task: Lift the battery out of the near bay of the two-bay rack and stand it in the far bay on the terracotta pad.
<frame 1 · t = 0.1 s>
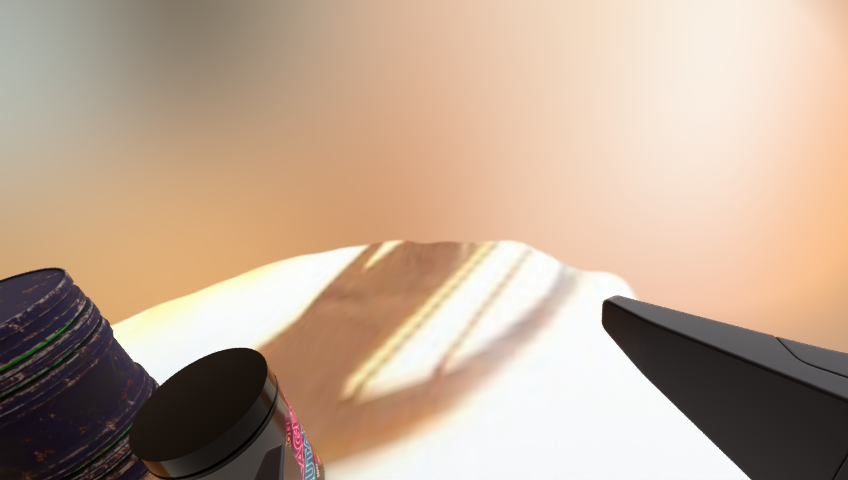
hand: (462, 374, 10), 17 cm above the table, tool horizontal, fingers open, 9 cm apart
dark purple cylinder: (115, 455, 30), on the table
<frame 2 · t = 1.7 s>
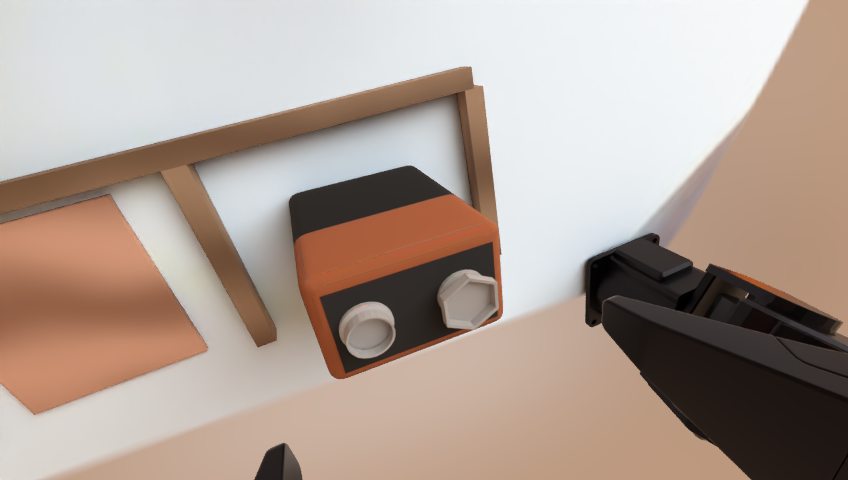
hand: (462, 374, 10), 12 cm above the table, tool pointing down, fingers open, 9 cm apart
slot rack: (228, 258, 19), on the table
battery: (361, 213, 20), on the table
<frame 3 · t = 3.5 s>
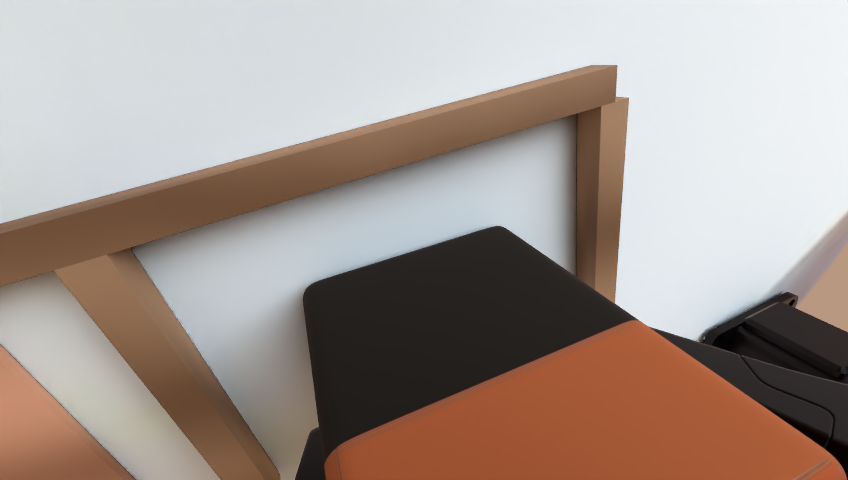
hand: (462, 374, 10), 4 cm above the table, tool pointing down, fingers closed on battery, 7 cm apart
slot rack: (200, 387, 11), on the table
battery: (415, 299, 13), on the table, touching gripper
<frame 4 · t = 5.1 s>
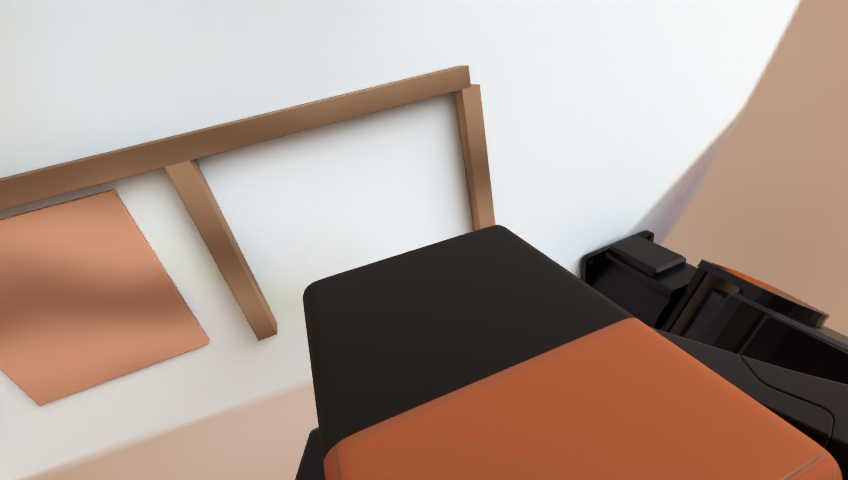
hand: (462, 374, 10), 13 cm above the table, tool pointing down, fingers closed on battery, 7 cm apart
slot rack: (230, 253, 19), on the table
battery: (415, 298, 13), point 9 cm above the table, touching gripper
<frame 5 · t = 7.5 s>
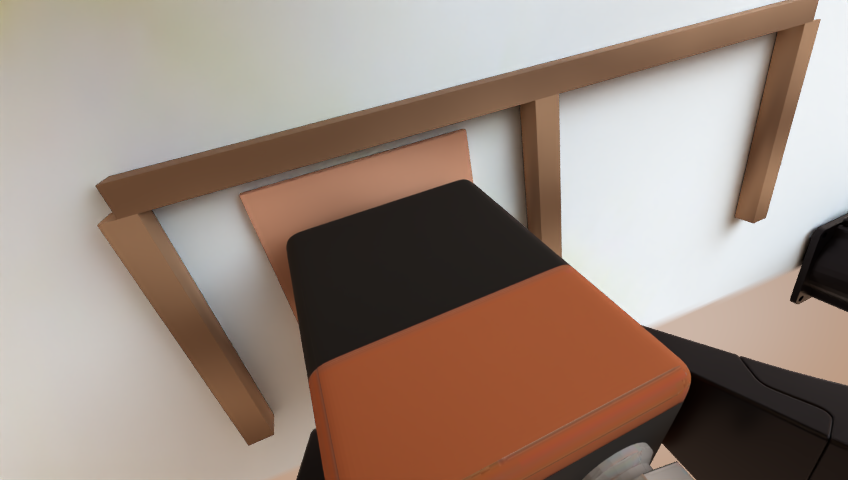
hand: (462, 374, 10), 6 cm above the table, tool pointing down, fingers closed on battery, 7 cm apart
slot rack: (536, 212, 17), on the table
battery: (390, 245, 14), resting on slot rack, touching gripper
when the fingers open (6 cm above the table, at t = 8.5 s): battery stays where it is, resting on slot rack.
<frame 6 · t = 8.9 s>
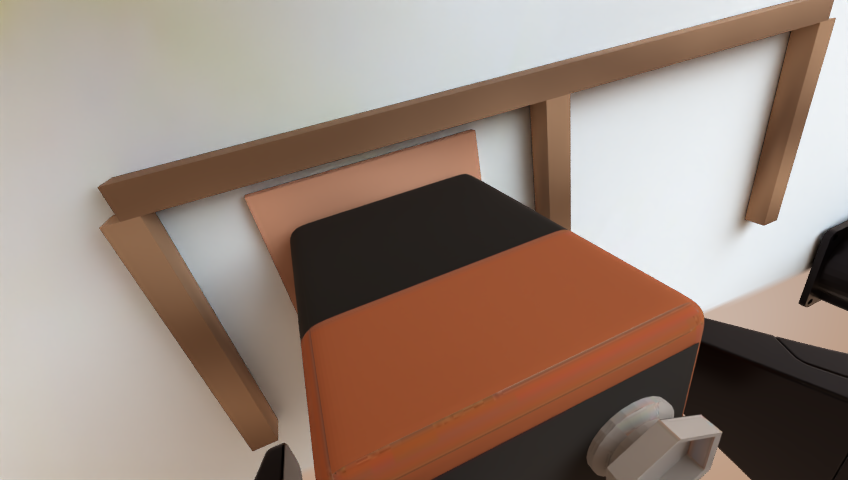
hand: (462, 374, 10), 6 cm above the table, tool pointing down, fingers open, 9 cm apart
slot rack: (545, 214, 16), on the table
battery: (394, 245, 14), resting on slot rack
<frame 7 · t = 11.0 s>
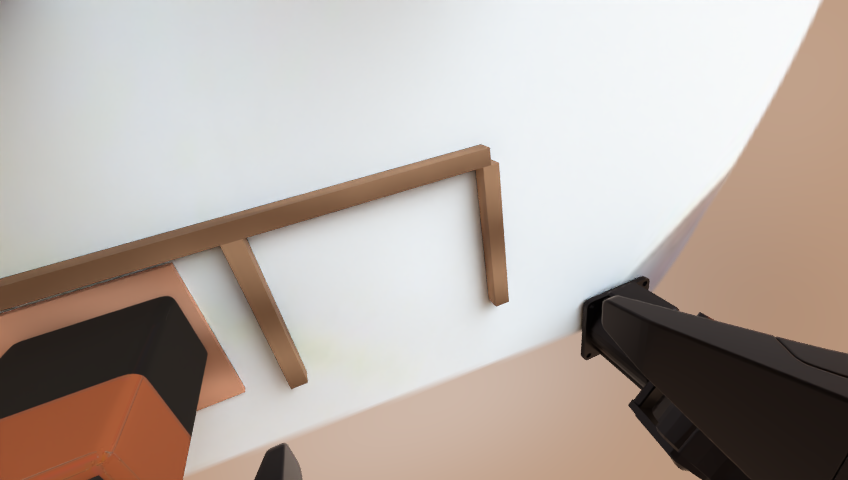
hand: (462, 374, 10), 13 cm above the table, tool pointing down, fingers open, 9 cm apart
slot rack: (269, 312, 21), on the table
battery: (121, 344, 19), resting on slot rack
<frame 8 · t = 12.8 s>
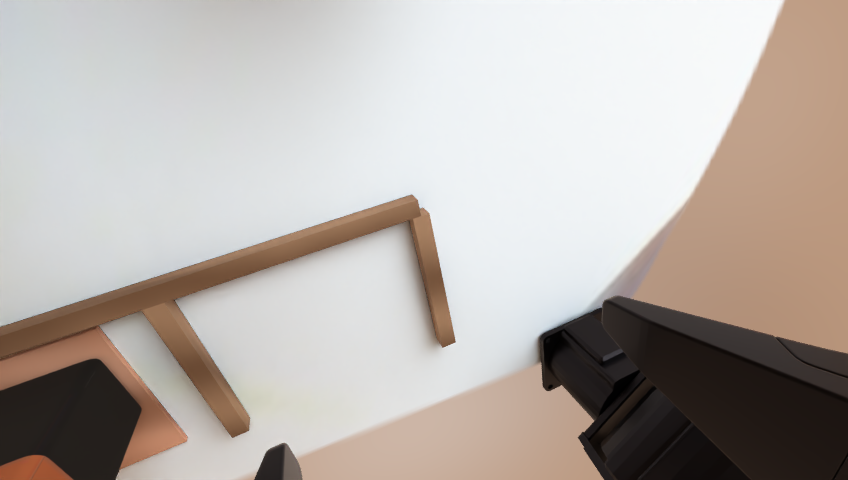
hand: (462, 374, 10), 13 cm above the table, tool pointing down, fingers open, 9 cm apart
slot rack: (204, 365, 21), on the table
battery: (54, 404, 19), resting on slot rack
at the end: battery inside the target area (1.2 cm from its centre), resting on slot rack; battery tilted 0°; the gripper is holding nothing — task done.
